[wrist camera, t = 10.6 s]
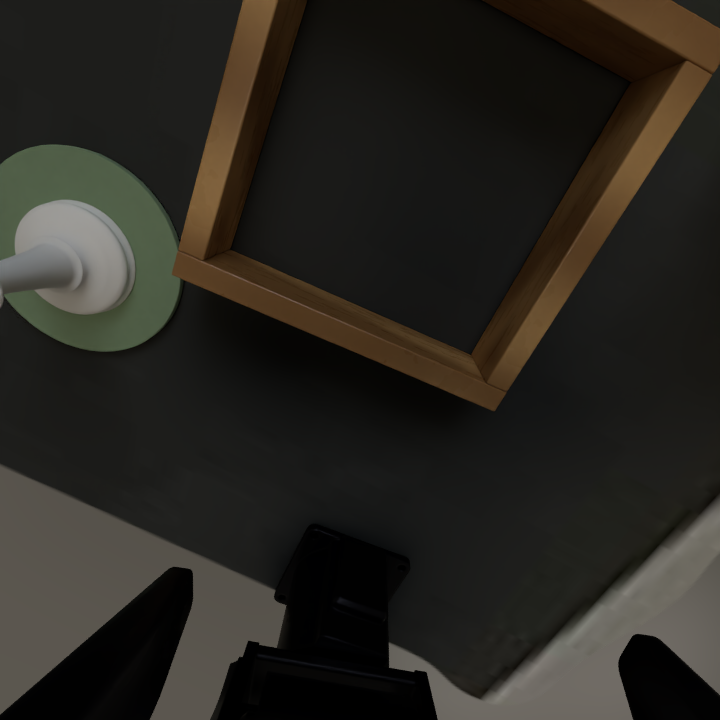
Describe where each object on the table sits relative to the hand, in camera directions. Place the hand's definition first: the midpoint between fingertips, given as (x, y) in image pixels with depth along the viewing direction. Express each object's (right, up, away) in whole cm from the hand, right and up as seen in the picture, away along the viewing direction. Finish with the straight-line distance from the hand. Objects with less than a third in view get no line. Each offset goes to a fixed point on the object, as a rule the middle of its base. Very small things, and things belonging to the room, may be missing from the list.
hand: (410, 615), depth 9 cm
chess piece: (-13, +10, +10) cm, 20 cm away
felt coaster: (-13, +10, +11) cm, 20 cm away
